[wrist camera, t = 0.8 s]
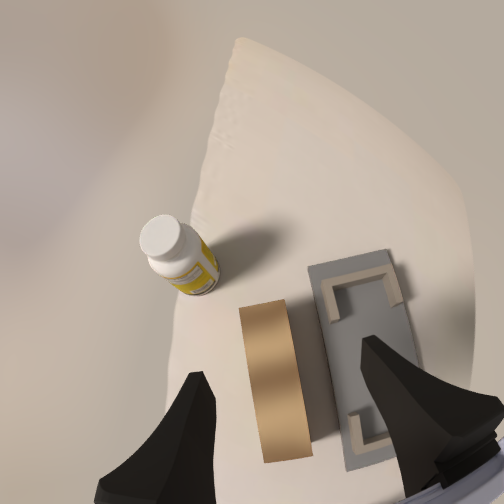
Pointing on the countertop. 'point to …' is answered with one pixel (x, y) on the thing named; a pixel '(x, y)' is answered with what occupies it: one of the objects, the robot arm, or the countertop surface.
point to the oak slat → (275, 382)
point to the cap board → (360, 344)
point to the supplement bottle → (179, 255)
